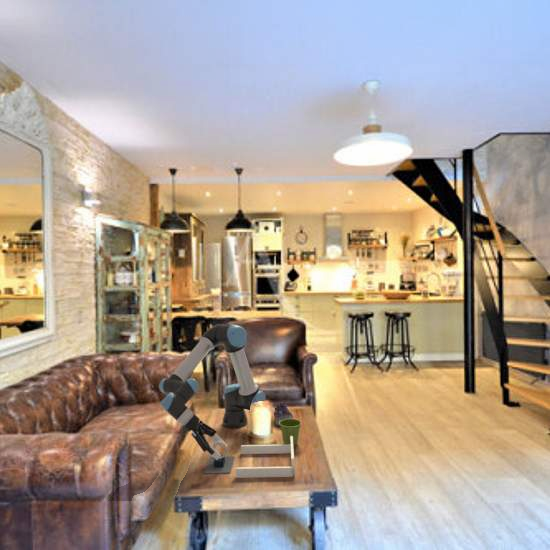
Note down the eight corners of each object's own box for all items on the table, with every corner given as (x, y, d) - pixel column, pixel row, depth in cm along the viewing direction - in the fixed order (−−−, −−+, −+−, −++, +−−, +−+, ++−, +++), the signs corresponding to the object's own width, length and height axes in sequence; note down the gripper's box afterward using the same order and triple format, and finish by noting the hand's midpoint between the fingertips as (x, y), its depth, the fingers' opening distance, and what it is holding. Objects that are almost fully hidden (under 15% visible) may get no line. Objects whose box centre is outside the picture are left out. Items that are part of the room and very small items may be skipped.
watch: (211, 462, 192) (211, 439, 192) (228, 461, 192) (227, 438, 192) (209, 467, 187) (209, 444, 187) (227, 467, 187) (226, 443, 187)
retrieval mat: (210, 457, 198) (210, 456, 198) (234, 457, 198) (234, 456, 198) (203, 473, 182) (203, 472, 182) (230, 473, 182) (230, 472, 182)
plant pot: (302, 448, 205) (302, 426, 205) (279, 449, 205) (279, 427, 205) (301, 438, 217) (300, 418, 217) (279, 439, 217) (278, 418, 217)
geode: (269, 416, 254) (271, 400, 254) (287, 417, 255) (289, 401, 256) (274, 426, 234) (275, 409, 234) (293, 427, 235) (295, 410, 236)
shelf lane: (241, 453, 202) (240, 437, 202) (293, 452, 201) (292, 436, 201) (235, 477, 177) (235, 459, 177) (294, 476, 177) (294, 458, 177)
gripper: (189, 416, 202) (219, 445, 202) (176, 436, 177) (211, 469, 177) (199, 405, 202) (229, 434, 202) (187, 424, 177) (222, 457, 177)
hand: (221, 451), depth 190 cm, fingers open, 13 cm apart
